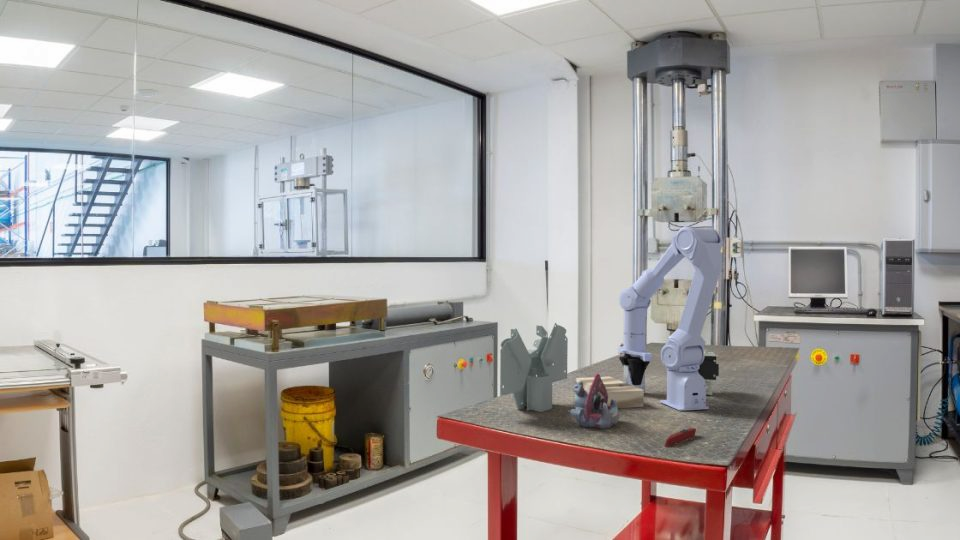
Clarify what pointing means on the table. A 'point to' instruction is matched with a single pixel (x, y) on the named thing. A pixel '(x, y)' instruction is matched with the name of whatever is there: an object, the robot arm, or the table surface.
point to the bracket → (533, 368)
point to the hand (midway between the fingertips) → (634, 383)
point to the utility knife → (680, 436)
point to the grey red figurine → (594, 405)
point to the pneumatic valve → (709, 369)
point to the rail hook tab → (628, 378)
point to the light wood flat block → (618, 392)
